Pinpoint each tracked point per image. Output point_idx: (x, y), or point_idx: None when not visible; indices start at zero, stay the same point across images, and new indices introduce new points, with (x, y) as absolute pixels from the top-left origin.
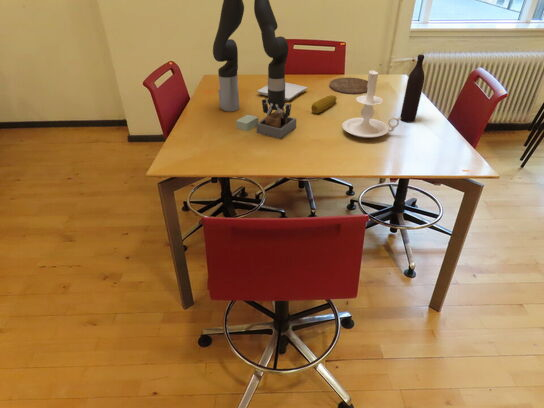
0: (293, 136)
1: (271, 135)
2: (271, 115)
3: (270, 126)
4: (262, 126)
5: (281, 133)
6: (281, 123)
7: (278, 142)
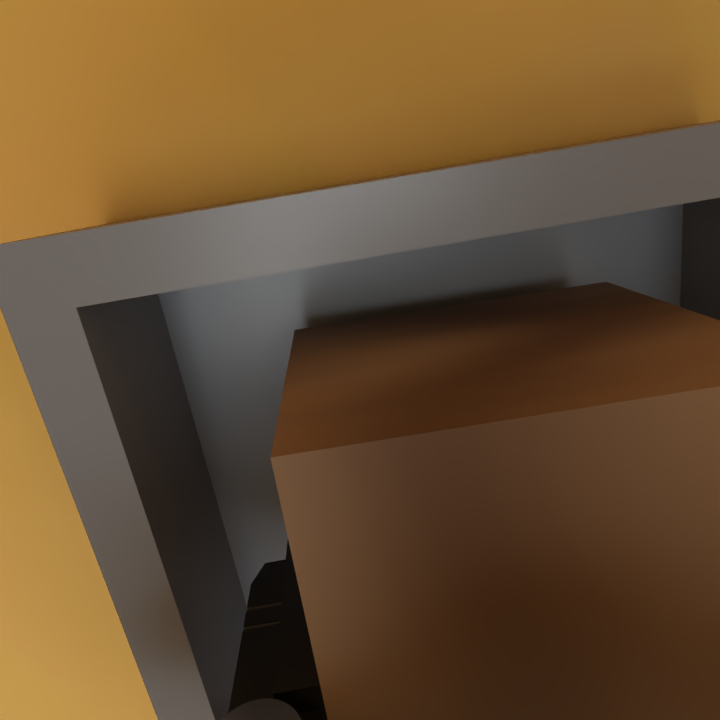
0: (40, 464)
1: (342, 184)
2: (714, 631)
3: (420, 221)
4: (661, 132)
5: (39, 236)
6: None
7: (36, 59)
